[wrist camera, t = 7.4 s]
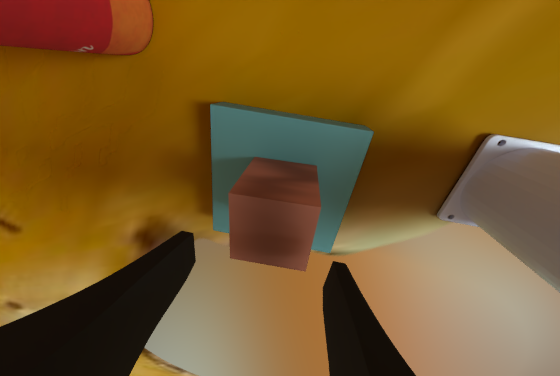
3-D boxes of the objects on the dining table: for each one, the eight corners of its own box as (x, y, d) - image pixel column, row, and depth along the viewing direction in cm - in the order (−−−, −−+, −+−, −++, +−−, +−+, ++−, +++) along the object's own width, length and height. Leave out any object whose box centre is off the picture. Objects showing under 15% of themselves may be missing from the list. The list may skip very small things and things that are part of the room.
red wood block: (316, 165, 16) (321, 207, 10) (306, 216, 18) (305, 271, 13) (254, 156, 16) (228, 193, 11) (252, 207, 18) (230, 258, 13)
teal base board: (363, 124, 17) (374, 131, 14) (327, 233, 22) (330, 252, 20) (225, 101, 17) (210, 104, 14) (224, 213, 23) (213, 230, 20)
